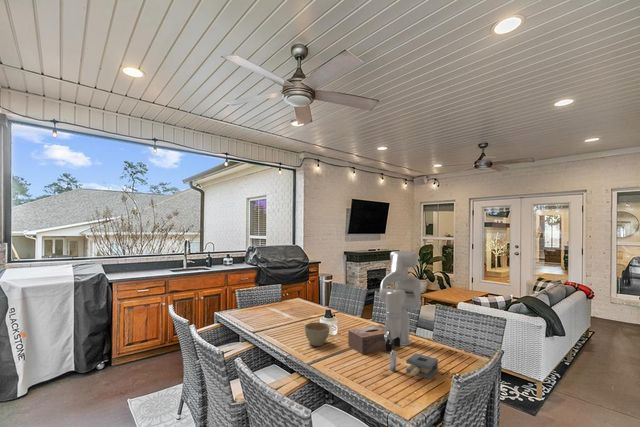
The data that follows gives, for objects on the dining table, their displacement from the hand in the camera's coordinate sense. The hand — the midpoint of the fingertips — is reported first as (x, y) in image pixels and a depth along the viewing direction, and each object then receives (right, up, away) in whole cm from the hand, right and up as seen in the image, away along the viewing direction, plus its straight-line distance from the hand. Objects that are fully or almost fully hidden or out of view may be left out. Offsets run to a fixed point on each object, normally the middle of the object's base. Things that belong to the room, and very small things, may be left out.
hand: (393, 348), depth 162 cm
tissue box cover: (-5, -13, +33) cm, 36 cm away
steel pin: (0, -11, 0) cm, 11 cm away
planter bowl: (-40, -13, +36) cm, 56 cm away
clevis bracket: (+13, -11, -3) cm, 18 cm away
